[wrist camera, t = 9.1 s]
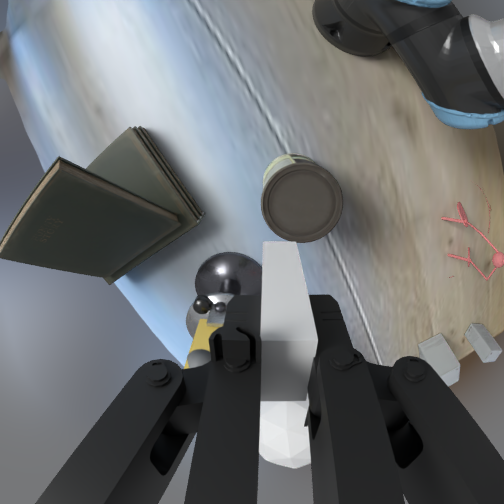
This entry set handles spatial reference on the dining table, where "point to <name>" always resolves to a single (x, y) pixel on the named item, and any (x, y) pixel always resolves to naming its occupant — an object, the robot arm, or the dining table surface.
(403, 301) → the dining table surface
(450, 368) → the supplement box
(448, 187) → the dining table surface
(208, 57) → the dining table surface
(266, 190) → the coffee can
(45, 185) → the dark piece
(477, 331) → the skincare box
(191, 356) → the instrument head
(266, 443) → the lamp
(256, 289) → the stand
